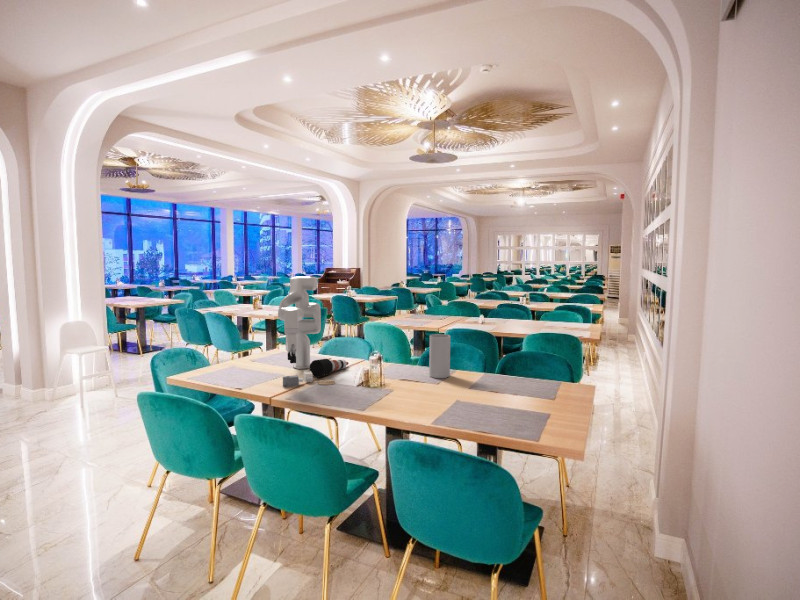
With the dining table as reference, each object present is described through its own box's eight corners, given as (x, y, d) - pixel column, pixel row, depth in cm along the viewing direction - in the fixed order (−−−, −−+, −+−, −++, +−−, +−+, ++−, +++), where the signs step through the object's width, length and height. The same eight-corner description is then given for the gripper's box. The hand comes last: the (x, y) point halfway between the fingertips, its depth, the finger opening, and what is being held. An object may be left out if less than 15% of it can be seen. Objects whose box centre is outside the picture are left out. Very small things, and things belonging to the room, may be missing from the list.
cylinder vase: (425, 376, 278) (425, 335, 276) (437, 372, 287) (437, 333, 285) (441, 379, 270) (442, 338, 268) (453, 375, 279) (454, 335, 277)
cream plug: (303, 379, 270) (303, 370, 270) (310, 378, 272) (309, 370, 271) (306, 383, 260) (306, 375, 260) (313, 383, 261) (313, 374, 261)
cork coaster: (316, 381, 265) (316, 380, 265) (332, 379, 268) (332, 378, 268) (319, 385, 255) (319, 384, 255) (336, 384, 259) (336, 383, 259)
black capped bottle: (349, 373, 301) (356, 361, 299) (318, 380, 271) (325, 366, 269) (338, 365, 305) (345, 352, 303) (307, 370, 275) (314, 356, 273)
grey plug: (283, 386, 253) (283, 378, 253) (282, 385, 257) (282, 376, 256) (303, 385, 257) (303, 376, 257) (302, 383, 261) (302, 374, 260)
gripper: (282, 329, 261) (283, 359, 262) (286, 333, 245) (287, 365, 246) (295, 329, 263) (296, 358, 265) (300, 332, 247) (301, 364, 249)
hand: (291, 361), depth 255 cm, fingers open, 9 cm apart
